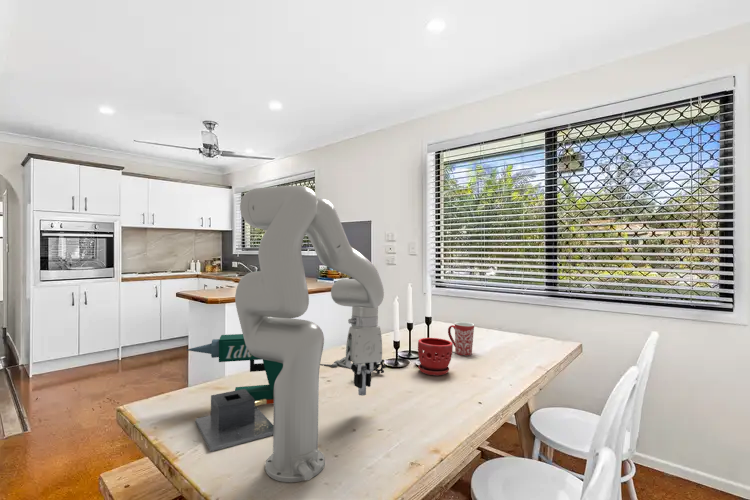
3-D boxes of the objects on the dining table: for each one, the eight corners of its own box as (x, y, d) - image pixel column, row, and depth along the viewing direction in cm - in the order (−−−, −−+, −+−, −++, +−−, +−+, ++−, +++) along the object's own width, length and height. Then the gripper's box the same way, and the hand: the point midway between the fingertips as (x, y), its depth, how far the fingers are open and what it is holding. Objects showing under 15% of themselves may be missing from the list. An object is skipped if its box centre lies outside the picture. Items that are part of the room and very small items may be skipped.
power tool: (181, 412, 111) (181, 342, 111) (186, 402, 118) (186, 336, 117) (295, 402, 119) (296, 336, 119) (294, 393, 126) (295, 331, 126)
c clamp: (354, 373, 149) (354, 366, 149) (317, 366, 157) (317, 359, 157) (379, 360, 166) (379, 353, 166) (344, 354, 175) (345, 348, 175)
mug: (478, 353, 177) (478, 323, 176) (467, 357, 170) (467, 326, 170) (454, 348, 185) (454, 319, 185) (443, 351, 179) (443, 322, 179)
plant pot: (437, 380, 141) (437, 347, 140) (410, 371, 150) (410, 340, 150) (459, 372, 149) (459, 341, 149) (432, 364, 159) (433, 335, 159)
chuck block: (281, 432, 99) (281, 405, 99) (210, 451, 90) (210, 421, 90) (258, 408, 114) (258, 384, 114) (195, 422, 105) (195, 396, 105)
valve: (363, 383, 136) (385, 375, 145) (363, 364, 136) (386, 357, 145) (350, 379, 141) (372, 371, 150) (350, 361, 141) (372, 354, 150)
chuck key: (371, 396, 111) (372, 368, 111) (364, 398, 109) (365, 369, 110) (359, 390, 116) (360, 363, 116) (353, 391, 114) (354, 364, 115)
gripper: (347, 325, 106) (344, 394, 105) (394, 322, 115) (392, 385, 114) (334, 321, 112) (331, 386, 111) (379, 318, 121) (377, 379, 120)
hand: (362, 385), depth 112 cm, fingers closed on chuck key, 2 cm apart
